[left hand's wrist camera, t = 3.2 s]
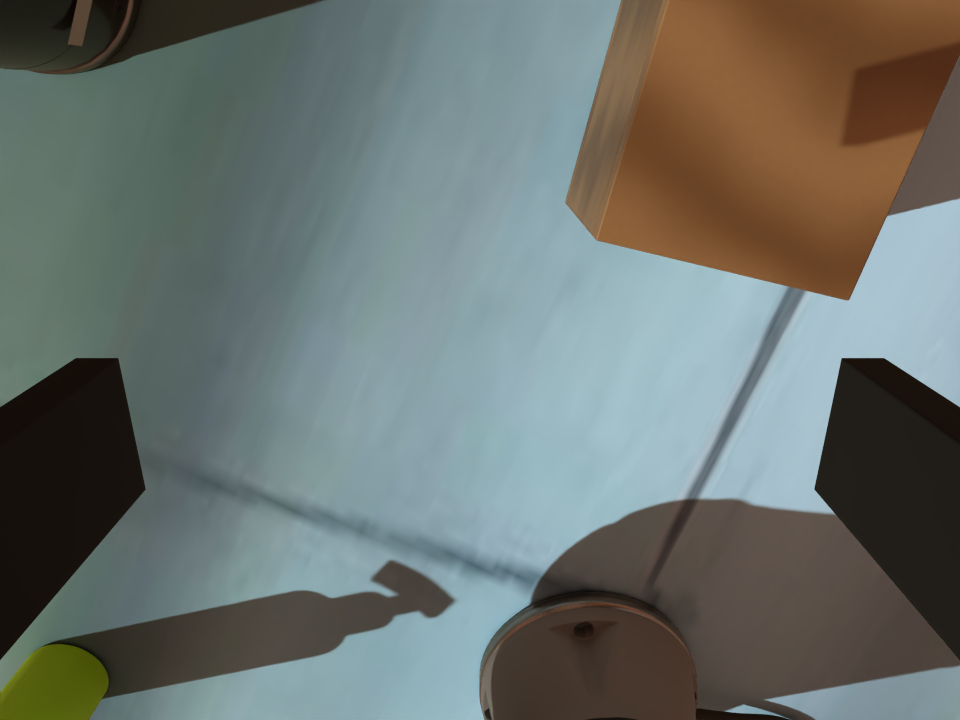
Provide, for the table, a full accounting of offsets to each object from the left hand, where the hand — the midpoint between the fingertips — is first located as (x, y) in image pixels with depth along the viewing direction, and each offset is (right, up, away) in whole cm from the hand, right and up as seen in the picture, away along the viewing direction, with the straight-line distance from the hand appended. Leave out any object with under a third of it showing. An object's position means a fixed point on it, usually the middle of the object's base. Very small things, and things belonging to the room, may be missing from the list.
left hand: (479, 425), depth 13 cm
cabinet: (+12, +18, +21) cm, 30 cm away
